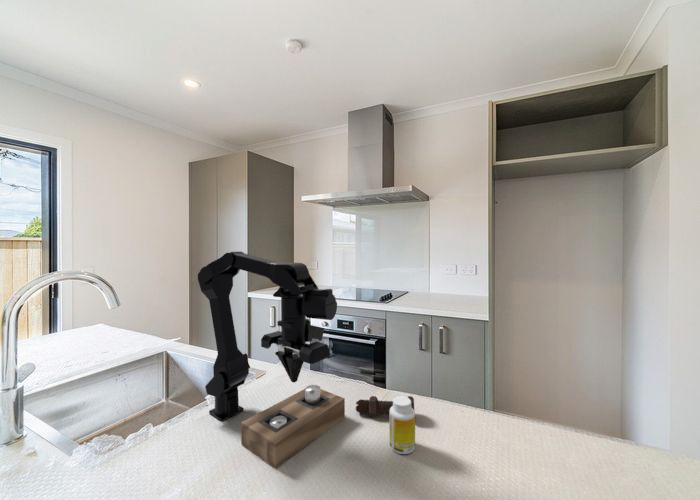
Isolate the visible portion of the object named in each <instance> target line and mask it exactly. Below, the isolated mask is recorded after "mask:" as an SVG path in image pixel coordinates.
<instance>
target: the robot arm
mask: <svg viewBox="0 0 700 500" xmlns="http://www.w3.org/2000/svg"><path fill="white" fill-rule="evenodd" d="M199 270H200V271H199V272H198V273H197V282H198V285H199V287H200V292H202V294H203V295H204V296H205V298H207V300H208V301H209V307H210V313H211V319H212V320H211V321H212V325H213V333H214V339H215V344H216V351H217V356H216V359H215V362H214V364H213V367H212V369H213V377H212V378H211V379H210V380H209V382H207V384H206V385H205V392H206V395H208V396H210V397H211V396H212V397H214V408H211V409H210V410H209V411H208V413H209V414H210V415H211V416H213V417H214V418H216V419H217V420H219V421H221V422H222V421H223V422H224V421H225V420H226V419H229V418H230V417H233V416H235V415H237V414H239V413H240V412H243V411H244V407H243V406H241V405H239V404H240V403H239V388H238V387H240V386H242V385H244V384H245V381H246V379H247V377H248V376H249V372H250V369H251V366H250V363H249V356H248V353H242V352H241V350H240V349H239V348H238V342H237V336H236V330H235V324H234V317H233V313H232V307H231V306H232V305H231V299H230V295H231V292H232V290H233V289H232V288H233V287H234V277H236V276H237V275H239V273H240V271H241V270H242V271H244V272H247V273H250V274H255V275H258V276H261V277H264V278H267V279H269V280H270V282H272V284H274V285H276V286H278V289H277V290H276V291H275V292H273V294H272V296H273V297H274V298H280V313H281V315H280V316H281V317H280V319H281V320H278V321H277V322H276V323H277V326H278V327H280V328H281V329H280V330H275V331H273V332H269V333H266V334H263V336H262V337H261V339H260V341H261V342H260V343H261V344H260V347H262V348H264V349H270V348H271V347H272V345H273V344H275V345H276V347H277V351H276V352H274V354H275V355H276V356H277V358H278V359H279V361H280V363H281V365H282V366H283V369H284V370H285V372H286V374H287V375H288V379H290V382H292V383H296V382H298V379H299V376H300V373H301V370H302V368H303V365H304V363H307V364H309V365H311V364H312V365H313V364H315V363H316V364H317V363H319V362H320V361H323V360H325V359H327V358H330V357H331V352H330V351H331V349H330V348H331V347H330V346H329V345H328V344H327V343H323V342H322V340H323V336H324V332H325V327H320V326H316V325H313V324H311V320H310V319H316V320H327V321H332V320H333V319H334V318H335V316H336V314H337V309H338V302H337V300H336V299H337V298H336V297H335V295H334V294H333V289H332V288H324V289H323V288H322V289H321V288H320V289H319V287H318V285H317V284H316V282H315V280H314V279H313V277H312V276H311V274H310V271H309V268H308V266H307V265H306V264H305V263H303V262H291V261H290V262H287V261H284V262H283V261H275V260H271V259H268V258H263V257H260V256H256V255H252V254H249V253H244V252H243V251H228V252H225V253H224V254H223V255H221V256H220V257H219V258H217V259H215V260H213V261H211V262H210V263H208V264H207V265H205V266H203V267H201V269H199ZM313 340H318V341H314V342H312V341H313ZM320 341H321V342H320ZM309 342H311V343H309Z"/></svg>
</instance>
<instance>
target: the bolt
mask: <svg viewBox="0 0 700 500" xmlns="http://www.w3.org/2000/svg"><path fill="white" fill-rule="evenodd" d="M407 398H409V399H410V400H411V406H412V408H413V409H414V410H415V398H414V397H413V396H411V395H410V396H409V395H408V396H407ZM392 406H393V400H379V399H378V397H377V396H376V395H371V396H370V397H369V399H362V398H361V399H359V400H357V401H356V402H355V410H356V412H357V413H363V414H364V413H365V414H369V417H370V418H377V416H378V415H389V411H390V408H391V407H392Z"/></svg>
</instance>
